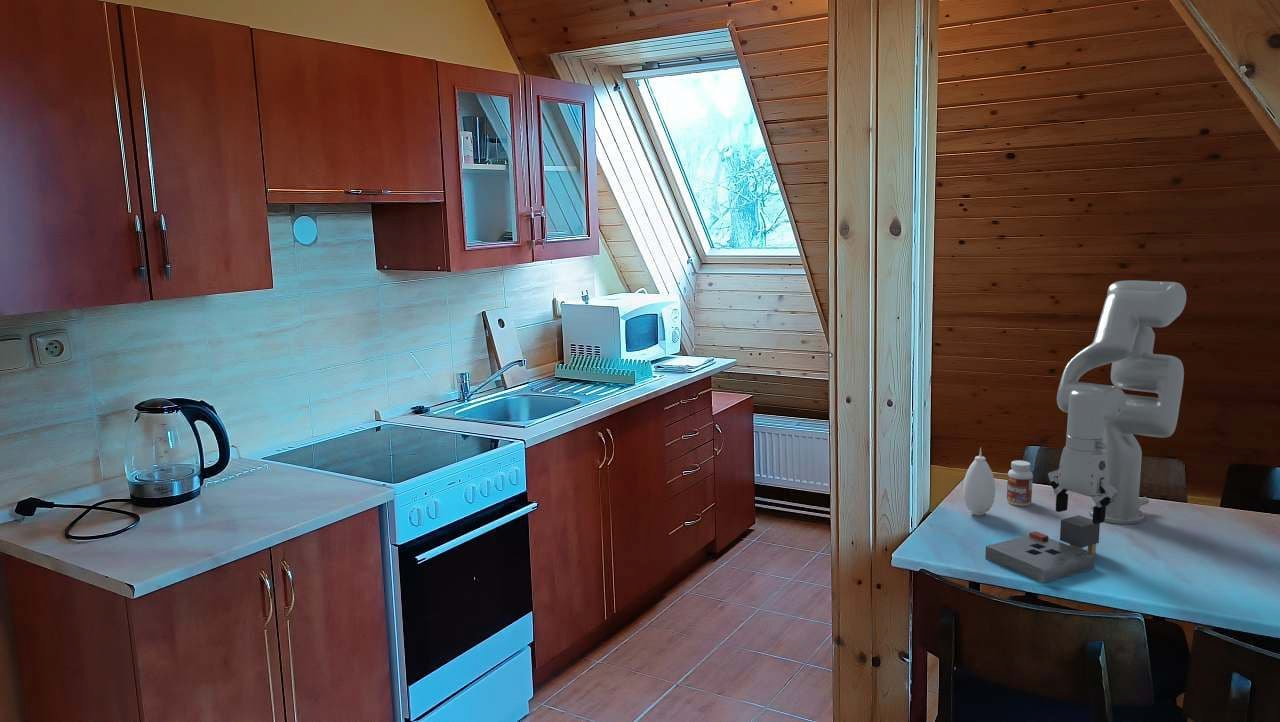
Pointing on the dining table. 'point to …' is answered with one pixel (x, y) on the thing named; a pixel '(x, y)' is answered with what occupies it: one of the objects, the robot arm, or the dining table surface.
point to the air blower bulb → (979, 486)
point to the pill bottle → (1019, 484)
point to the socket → (1040, 557)
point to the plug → (1080, 532)
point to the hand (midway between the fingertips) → (1079, 516)
